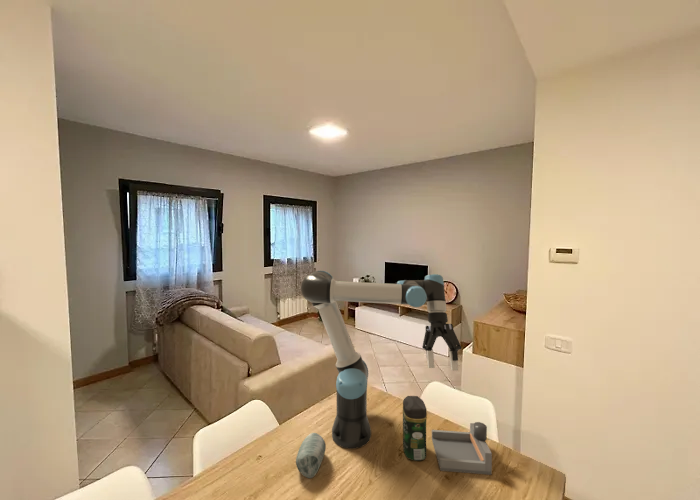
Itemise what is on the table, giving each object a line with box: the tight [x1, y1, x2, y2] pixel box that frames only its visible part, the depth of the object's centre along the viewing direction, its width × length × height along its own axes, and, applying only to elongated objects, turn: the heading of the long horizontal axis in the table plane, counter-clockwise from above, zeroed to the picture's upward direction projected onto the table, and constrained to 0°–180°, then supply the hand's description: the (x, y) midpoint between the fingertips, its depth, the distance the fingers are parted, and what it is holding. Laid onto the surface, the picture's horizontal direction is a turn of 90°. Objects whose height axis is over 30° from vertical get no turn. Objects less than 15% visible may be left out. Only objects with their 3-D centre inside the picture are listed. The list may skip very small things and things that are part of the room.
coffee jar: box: [402, 395, 428, 462], centre depth 100 cm, size 10×8×19 cm
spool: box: [295, 432, 327, 479], centre depth 94 cm, size 14×10×10 cm
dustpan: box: [431, 421, 493, 476], centre depth 98 cm, size 17×15×11 cm
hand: (442, 369), depth 107 cm, fingers open, 13 cm apart
